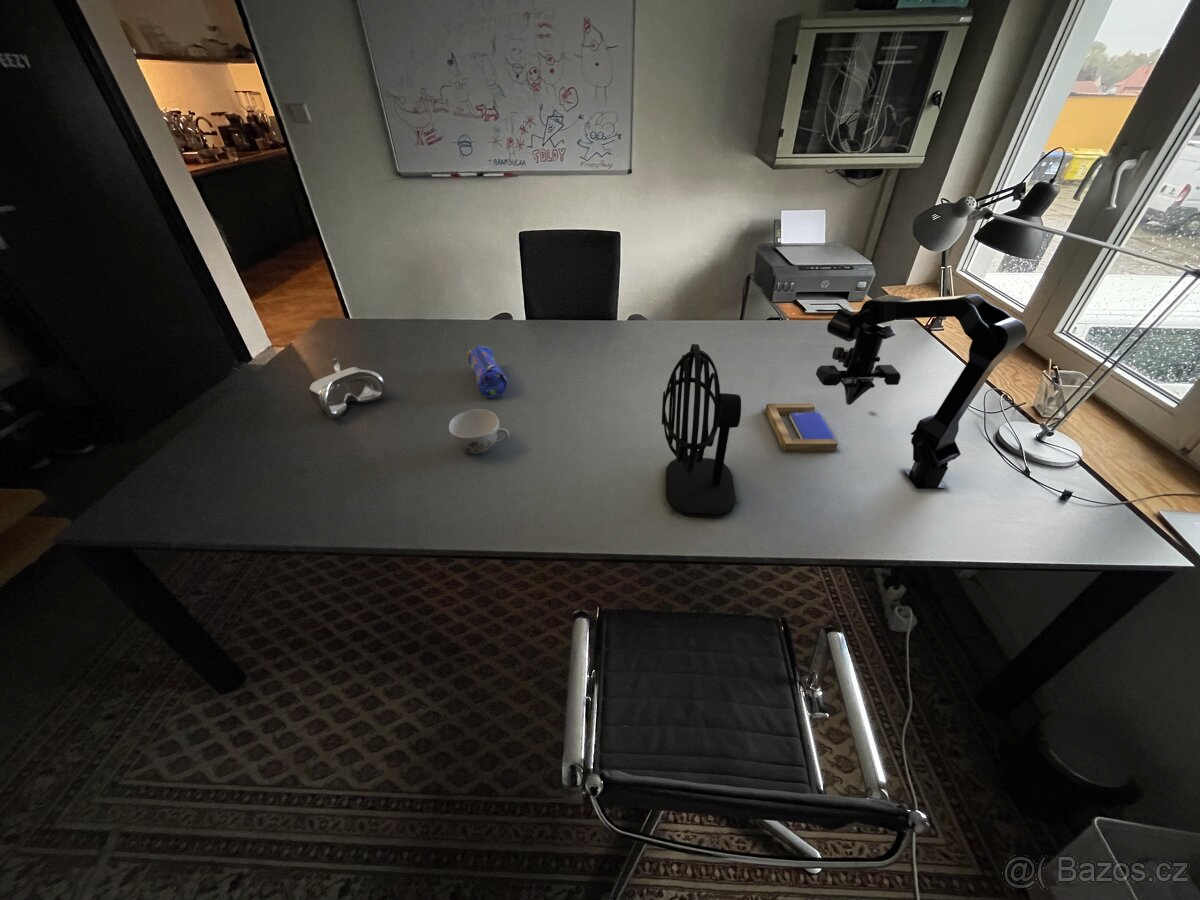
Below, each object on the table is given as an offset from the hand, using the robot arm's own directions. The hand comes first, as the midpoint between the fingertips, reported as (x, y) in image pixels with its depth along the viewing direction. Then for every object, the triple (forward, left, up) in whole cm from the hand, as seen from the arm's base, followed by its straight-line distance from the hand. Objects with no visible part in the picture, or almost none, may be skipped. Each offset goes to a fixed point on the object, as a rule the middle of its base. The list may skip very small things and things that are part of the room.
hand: (848, 403), depth 130 cm
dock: (0, +10, -8) cm, 13 cm away
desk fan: (-23, +42, -8) cm, 49 cm away
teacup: (-7, +95, -8) cm, 96 cm away
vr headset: (+14, +138, -8) cm, 139 cm away
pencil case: (+27, +100, -8) cm, 104 cm away
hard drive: (0, +8, -8) cm, 11 cm away
